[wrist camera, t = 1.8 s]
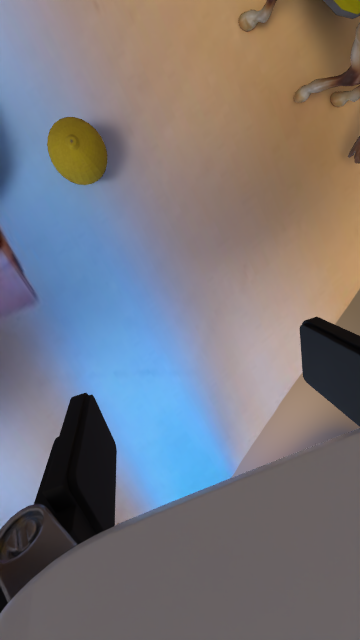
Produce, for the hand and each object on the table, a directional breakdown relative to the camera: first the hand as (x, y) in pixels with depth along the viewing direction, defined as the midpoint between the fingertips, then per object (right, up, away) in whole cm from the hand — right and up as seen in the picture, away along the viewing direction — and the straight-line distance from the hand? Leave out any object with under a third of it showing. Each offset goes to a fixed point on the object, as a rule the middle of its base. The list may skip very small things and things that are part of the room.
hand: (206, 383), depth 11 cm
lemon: (-12, +21, +19) cm, 31 cm away
